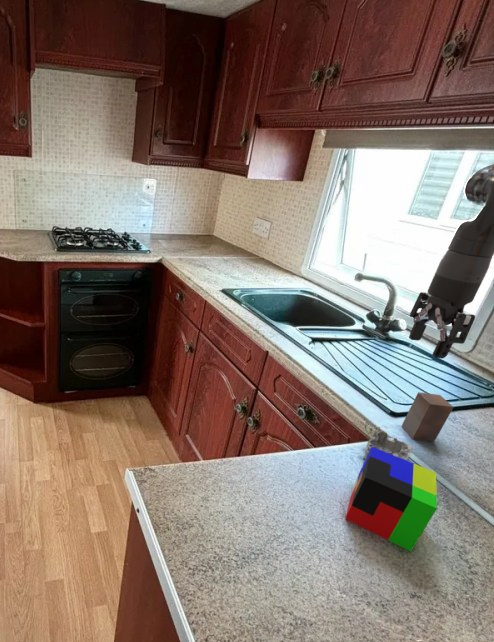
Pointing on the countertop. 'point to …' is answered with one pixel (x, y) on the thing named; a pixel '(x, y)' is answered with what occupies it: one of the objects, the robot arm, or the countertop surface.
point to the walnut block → (427, 416)
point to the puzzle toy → (393, 498)
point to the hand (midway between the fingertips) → (425, 348)
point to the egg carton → (388, 445)
